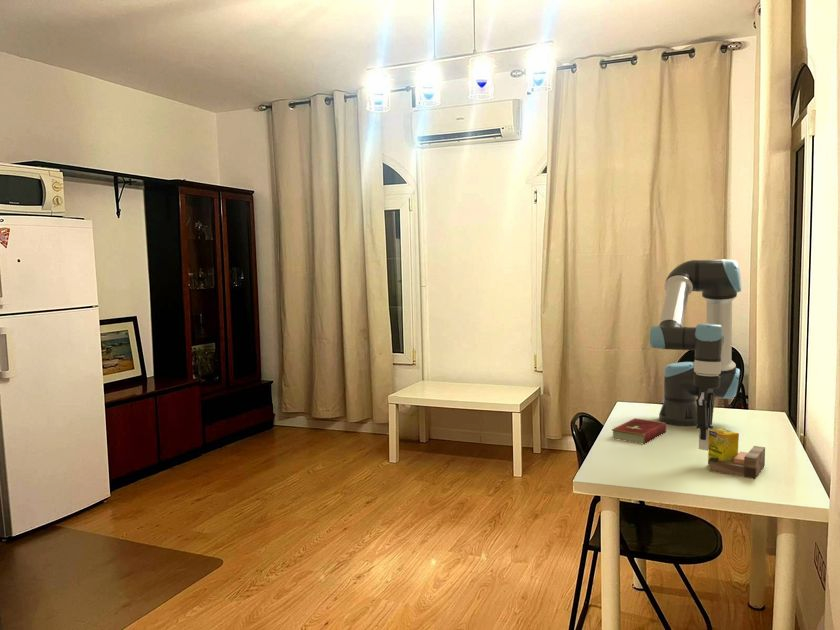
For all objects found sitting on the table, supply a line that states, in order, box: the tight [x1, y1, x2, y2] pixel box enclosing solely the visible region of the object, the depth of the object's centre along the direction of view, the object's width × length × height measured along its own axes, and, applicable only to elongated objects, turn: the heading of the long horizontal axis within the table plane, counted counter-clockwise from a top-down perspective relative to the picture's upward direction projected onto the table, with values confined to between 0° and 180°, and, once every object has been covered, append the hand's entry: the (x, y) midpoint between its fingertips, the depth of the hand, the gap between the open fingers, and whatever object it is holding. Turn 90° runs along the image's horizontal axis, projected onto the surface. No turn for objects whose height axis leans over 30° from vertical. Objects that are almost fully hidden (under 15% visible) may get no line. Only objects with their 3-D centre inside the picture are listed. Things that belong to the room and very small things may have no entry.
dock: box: [708, 445, 766, 480], centre depth 193 cm, size 14×12×6 cm
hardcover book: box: [611, 417, 667, 445], centre depth 232 cm, size 12×21×4 cm, turn 139°
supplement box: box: [707, 428, 740, 465], centre depth 195 cm, size 6×6×11 cm
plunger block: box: [734, 451, 748, 464], centre depth 192 cm, size 8×3×4 cm, turn 142°
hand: (703, 449), depth 198 cm, fingers closed
